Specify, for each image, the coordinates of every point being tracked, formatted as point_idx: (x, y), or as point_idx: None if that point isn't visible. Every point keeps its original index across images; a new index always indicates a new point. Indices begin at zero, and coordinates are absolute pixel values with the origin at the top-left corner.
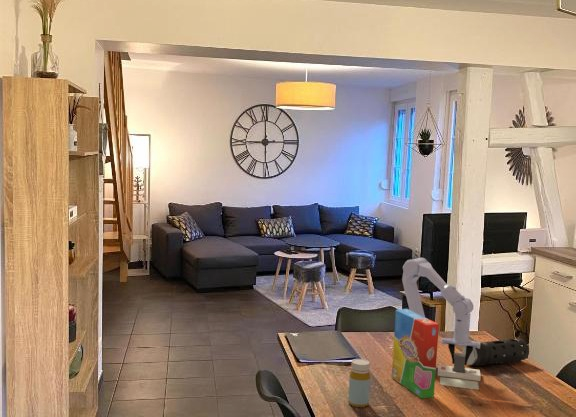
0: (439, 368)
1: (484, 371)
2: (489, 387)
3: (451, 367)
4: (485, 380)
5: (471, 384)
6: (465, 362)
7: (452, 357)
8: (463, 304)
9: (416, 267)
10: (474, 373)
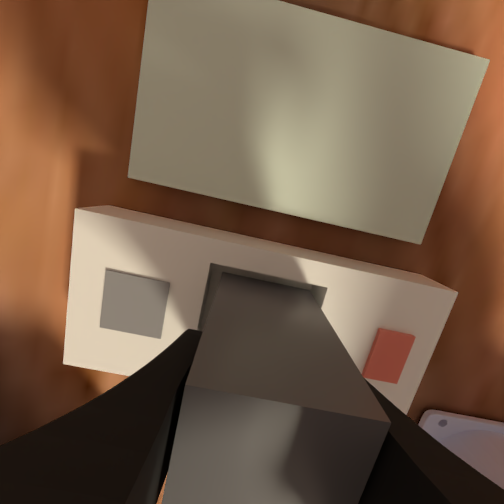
0: (423, 345)
1: (45, 419)
2: (47, 92)
3: None
4: (60, 250)
5: (197, 99)
6: (193, 343)
7: (394, 411)
8: None
9: None
10: (126, 267)
